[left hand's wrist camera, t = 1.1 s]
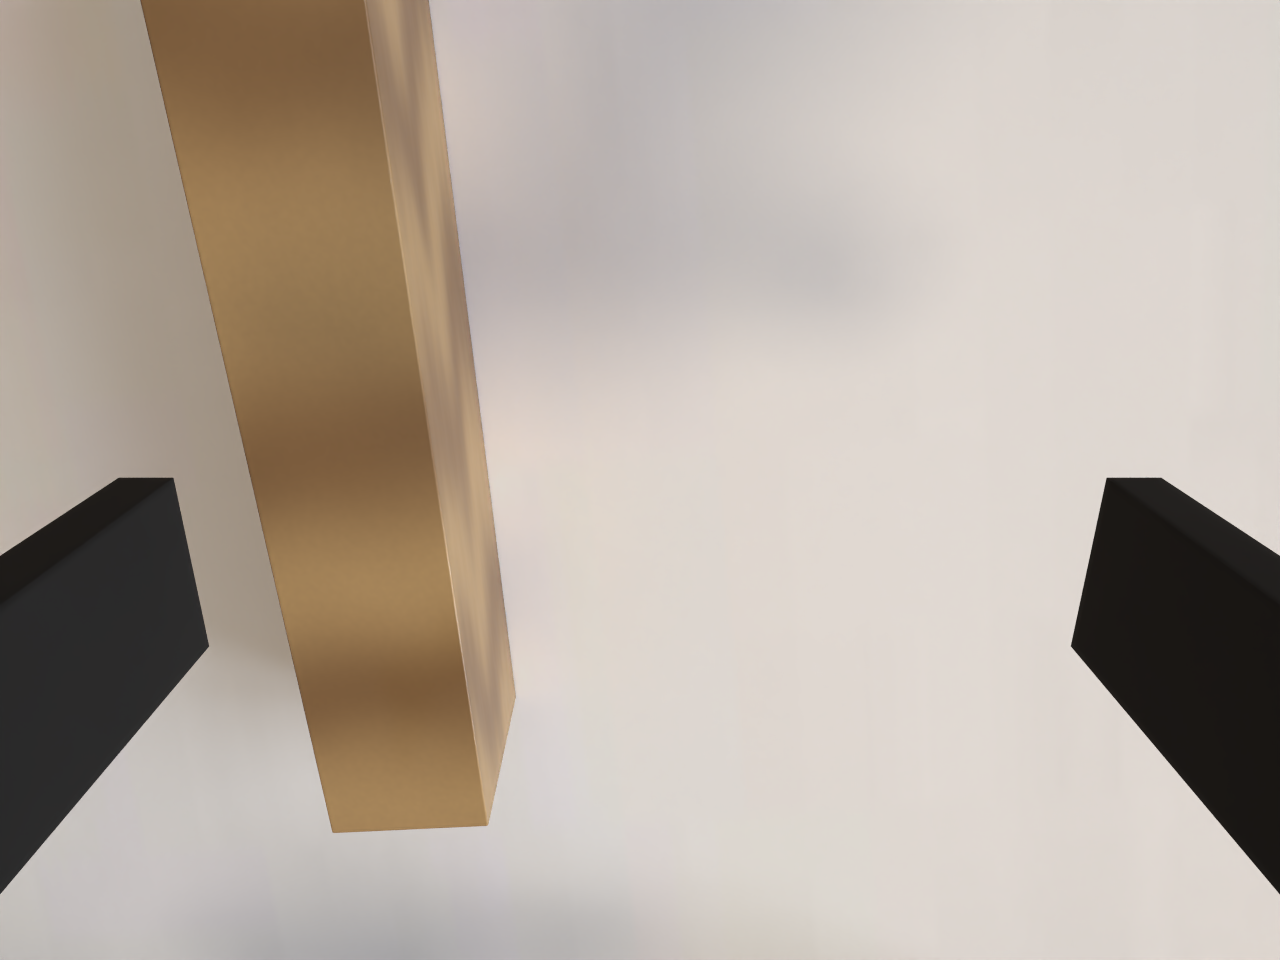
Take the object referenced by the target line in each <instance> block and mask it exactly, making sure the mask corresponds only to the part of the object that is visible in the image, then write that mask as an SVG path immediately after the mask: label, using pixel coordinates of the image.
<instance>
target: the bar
mask: <svg viewBox="0 0 1280 960" xmlns="http://www.w3.org/2000/svg"><path fill="white" fill-rule="evenodd" d="M141 5H142V9H143V13H144V18H145V22H146V26H147V31H148V35H149V39H150V44H151V48H152V52H153V57H154V61H155V65H156V70H157V74H158V78H159V83H160V87H161V91H162V96H163V100H164V104H165V109H166V113H167V117H168V122H169V126H170V130H171V135H172V139H173V143H174V148H175V152H176V156H177V161H178V165H179V169H180V174H181V178H182V182H183V187H184V191H185V195H186V200H187V204H188V208H189V213H190V217H191V221H192V226H193V230H194V234H195V239H196V243H197V247H198V252H199V256H200V260H201V265H202V269H203V273H204V278H205V282H206V286H207V291H208V295H209V299H210V304H211V308H212V312H213V317H214V321H215V325H216V330H217V334H218V338H219V343H220V347H221V351H222V356H223V360H224V364H225V369H226V373H227V377H228V382H229V386H230V390H231V395H232V399H233V403H234V408H235V412H236V416H237V421H238V425H239V429H240V434H241V438H242V442H243V447H244V451H245V455H246V460H247V464H248V468H249V473H250V477H251V481H252V485H253V490H254V494H255V498H256V503H257V507H258V511H259V516H260V520H261V524H262V529H263V533H264V537H265V542H266V546H267V550H268V555H269V559H270V563H271V568H272V572H273V576H274V581H275V585H276V589H277V594H278V598H279V602H280V607H281V611H282V615H283V620H284V624H285V628H286V633H287V637H288V641H289V646H290V650H291V654H292V659H293V663H294V667H295V672H296V676H297V680H298V685H299V689H300V693H301V698H302V702H303V706H304V711H305V715H306V719H307V724H308V728H309V732H310V737H311V741H312V745H313V750H314V754H315V758H316V763H317V767H318V771H319V776H320V780H321V784H322V789H323V793H324V797H325V802H326V806H327V810H328V815H329V819H330V823H331V828H332V832H333V833H342V832H364V831H385V830H407V829H428V828H450V827H471V826H487V825H488V823H489V818H490V814H491V809H492V804H493V800H494V795H495V791H496V786H497V781H498V777H499V772H500V767H501V763H502V758H503V753H504V749H505V744H506V739H507V735H508V730H509V726H510V721H511V716H512V712H513V707H514V702H515V698H516V696H515V688H514V680H513V672H512V664H511V656H510V648H509V640H508V632H507V624H506V616H505V608H504V600H503V592H502V584H501V576H500V568H499V560H498V552H497V544H496V536H495V528H494V520H493V512H492V504H491V496H490V488H489V480H488V472H487V464H486V456H485V448H484V440H483V432H482V424H481V417H480V409H479V401H478V393H477V385H476V377H475V369H474V361H473V353H472V345H471V337H470V329H469V321H468V313H467V305H466V297H465V289H464V281H463V273H462V265H461V257H460V249H459V241H458V233H457V225H456V217H455V209H454V201H453V193H452V185H451V177H450V169H449V161H448V153H447V145H446V137H445V129H444V121H443V113H442V105H441V97H440V89H439V81H438V73H437V65H436V57H435V49H434V41H433V33H432V25H431V17H430V9H429V1H428V0H141Z"/></svg>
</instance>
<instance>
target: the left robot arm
mask: <svg viewBox="0 0 1280 960" xmlns="http://www.w3.org/2000/svg"><path fill="white" fill-rule="evenodd" d="M208 647H209V644H208V639H207V634H206V629H205V625H204V620H203V615H202V611H201V606H200V601H199V596H198V592H197V587H196V582H195V578H194V573H193V568H192V564H191V559H190V554H189V549H188V545H187V540H186V535H185V531H184V526H183V521H182V516H181V512H180V507H179V502H178V498H177V493H176V488H175V483H174V479H173V478H118V479H116V480H115V481H113V482H112V483H110V484H109V485H107V486H106V487H104V488H103V489H101V490H100V491H98V492H97V493H95V494H93V495H92V496H90V497H89V498H87V499H86V500H84V501H83V502H81V503H80V504H78V505H77V506H75V507H74V508H72V509H71V510H69V511H68V512H66V513H65V514H63V515H62V516H60V517H59V518H57V519H55V520H54V521H52V522H51V523H49V524H48V525H46V526H45V527H43V528H42V529H40V530H39V531H37V532H36V533H34V534H33V535H31V536H30V537H28V538H27V539H25V540H24V541H22V542H21V543H19V544H17V545H16V546H14V547H13V548H11V549H10V550H8V551H7V552H5V553H4V554H2V555H1V556H0V894H1V893H2V891H3V890H4V889H5V888H6V887H7V885H8V884H9V883H10V882H11V881H12V880H13V878H14V877H15V876H16V875H17V874H18V872H19V871H20V870H21V869H22V868H23V866H24V865H25V864H26V863H27V862H28V861H29V859H30V858H31V857H32V856H33V855H34V853H35V852H36V851H37V850H38V849H39V848H40V846H41V845H42V844H43V843H44V842H45V840H46V839H47V838H48V837H49V836H50V834H51V833H52V832H53V831H54V830H55V829H56V827H57V826H58V825H59V824H60V823H61V821H62V820H63V819H64V818H65V817H66V815H67V814H68V813H69V812H70V811H71V810H72V808H73V807H74V806H75V805H76V804H77V802H78V801H79V800H80V799H81V798H82V796H83V795H84V794H85V793H86V792H87V791H88V789H89V788H90V787H91V786H92V785H93V783H94V782H95V781H96V780H97V779H98V777H99V776H100V775H101V774H102V773H103V772H104V770H105V769H106V768H107V767H108V766H109V764H110V763H111V762H112V761H113V760H114V759H115V757H116V756H117V755H118V754H119V753H120V751H121V750H122V749H123V748H124V747H125V745H126V744H127V743H128V742H129V741H130V740H131V738H132V737H133V736H134V735H135V734H136V732H137V731H138V730H139V729H140V728H141V726H142V725H143V724H144V723H145V722H146V721H147V719H148V718H149V717H150V716H151V715H152V713H153V712H154V711H155V710H156V709H157V707H158V706H159V705H160V704H161V703H162V702H163V700H164V699H165V698H166V697H167V696H168V694H169V693H170V692H171V691H172V690H173V688H174V687H175V686H176V685H177V684H178V683H179V681H180V680H181V679H182V678H183V677H184V675H185V674H186V673H187V672H188V671H189V669H190V668H191V667H192V666H193V665H194V664H195V662H196V661H197V660H198V659H199V658H200V656H201V655H202V654H203V653H204V652H205V651H206V649H207V648H208ZM1071 647H1072V648H1073V649H1074V651H1075V652H1076V653H1077V654H1078V655H1079V656H1080V658H1081V659H1082V660H1083V661H1084V662H1085V664H1086V665H1087V666H1088V667H1089V668H1090V670H1091V671H1092V672H1093V673H1094V674H1095V675H1096V677H1097V678H1098V679H1099V680H1100V681H1101V683H1102V684H1103V685H1104V686H1105V687H1106V688H1107V690H1108V691H1109V692H1110V693H1111V694H1112V696H1113V697H1114V698H1115V699H1116V700H1117V702H1118V703H1119V704H1120V705H1121V706H1122V707H1123V709H1124V710H1125V711H1126V712H1127V713H1128V715H1129V716H1130V717H1131V718H1132V719H1133V721H1134V722H1135V723H1136V724H1137V725H1138V726H1139V728H1140V729H1141V730H1142V731H1143V732H1144V734H1145V735H1146V736H1147V737H1148V738H1149V740H1150V741H1151V742H1152V743H1153V744H1154V745H1155V747H1156V748H1157V749H1158V750H1159V751H1160V753H1161V754H1162V755H1163V756H1164V757H1165V759H1166V760H1167V761H1168V762H1169V763H1170V764H1171V766H1172V767H1173V768H1174V769H1175V770H1176V772H1177V773H1178V774H1179V775H1180V776H1181V777H1182V779H1183V780H1184V781H1185V782H1186V783H1187V785H1188V786H1189V787H1190V788H1191V789H1192V791H1193V792H1194V793H1195V794H1196V795H1197V796H1198V798H1199V799H1200V800H1201V801H1202V802H1203V804H1204V805H1205V806H1206V807H1207V808H1208V810H1209V811H1210V812H1211V813H1212V814H1213V815H1214V817H1215V818H1216V819H1217V820H1218V821H1219V823H1220V824H1221V825H1222V826H1223V827H1224V829H1225V830H1226V831H1227V832H1228V833H1229V834H1230V836H1231V837H1232V838H1233V839H1234V840H1235V842H1236V843H1237V844H1238V845H1239V846H1240V848H1241V849H1242V850H1243V851H1244V852H1245V853H1246V855H1247V856H1248V857H1249V858H1250V859H1251V861H1252V862H1253V863H1254V864H1255V865H1256V867H1257V868H1258V869H1259V870H1260V871H1261V872H1262V874H1263V875H1264V876H1265V877H1266V878H1267V880H1268V881H1269V882H1270V883H1271V884H1272V885H1273V887H1274V888H1275V889H1276V890H1277V891H1278V893H1279V894H1280V556H1279V555H1278V554H1276V553H1275V552H1273V551H1272V550H1270V549H1269V548H1267V547H1266V546H1264V545H1263V544H1261V543H1259V542H1258V541H1256V540H1255V539H1253V538H1252V537H1250V536H1249V535H1247V534H1246V533H1244V532H1243V531H1241V530H1240V529H1238V528H1237V527H1235V526H1234V525H1232V524H1231V523H1229V522H1228V521H1226V520H1225V519H1223V518H1221V517H1220V516H1218V515H1217V514H1215V513H1214V512H1212V511H1211V510H1209V509H1208V508H1206V507H1205V506H1203V505H1202V504H1200V503H1199V502H1197V501H1196V500H1194V499H1193V498H1191V497H1190V496H1188V495H1187V494H1185V493H1183V492H1182V491H1180V490H1179V489H1177V488H1176V487H1174V486H1173V485H1171V484H1170V483H1168V482H1167V481H1165V480H1164V479H1162V478H1107V479H1106V483H1105V488H1104V493H1103V498H1102V502H1101V507H1100V512H1099V516H1098V521H1097V526H1096V531H1095V535H1094V540H1093V545H1092V549H1091V554H1090V559H1089V564H1088V568H1087V573H1086V578H1085V582H1084V587H1083V592H1082V596H1081V601H1080V606H1079V611H1078V615H1077V620H1076V625H1075V629H1074V634H1073V639H1072V644H1071Z"/></svg>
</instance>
